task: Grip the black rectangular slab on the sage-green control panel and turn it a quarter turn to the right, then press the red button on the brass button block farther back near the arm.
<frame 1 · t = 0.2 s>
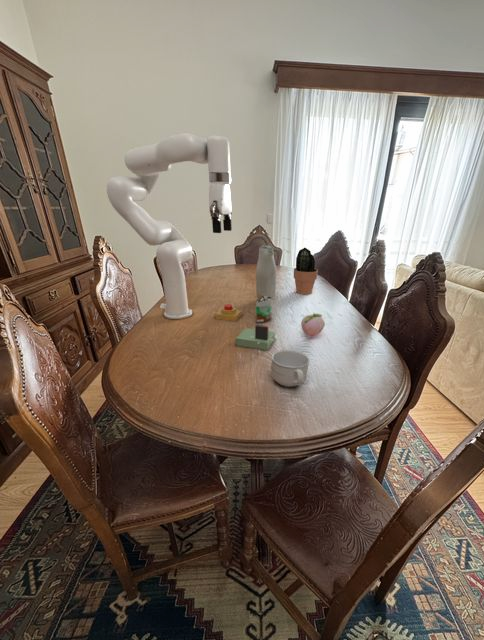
hand: (222, 231, 109), 37 cm above the table, tool pointing down, fingers open, 9 cm apart
decorative fruit: (310, 336, 113), on the table
black rectangular slab: (261, 332, 102), point 6 cm above the table, hinge at 0.0°
food container: (265, 320, 128), on the table
button: (228, 307, 129), point 4 cm above the table, slide at 0.1 cm
button block: (228, 316, 131), on the table
potted plant: (303, 292, 167), on the table
teacup: (289, 384, 84), on the table
glass bottle: (265, 300, 153), on the table
panel: (255, 342, 108), on the table
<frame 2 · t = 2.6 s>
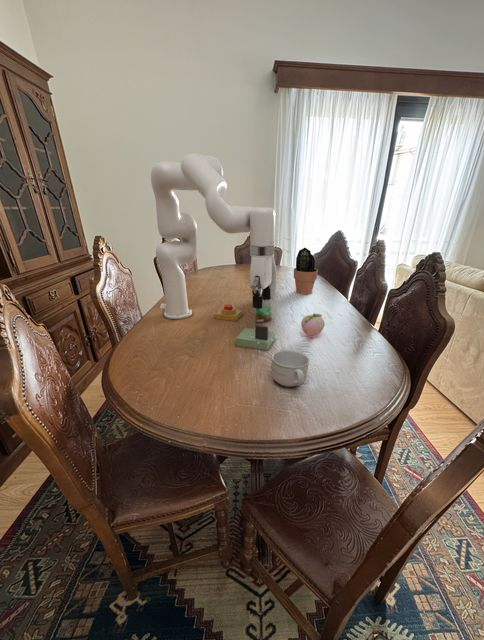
hand: (261, 303, 98), 16 cm above the table, tool pointing down, fingers open, 9 cm apart
nothing on the table moved.
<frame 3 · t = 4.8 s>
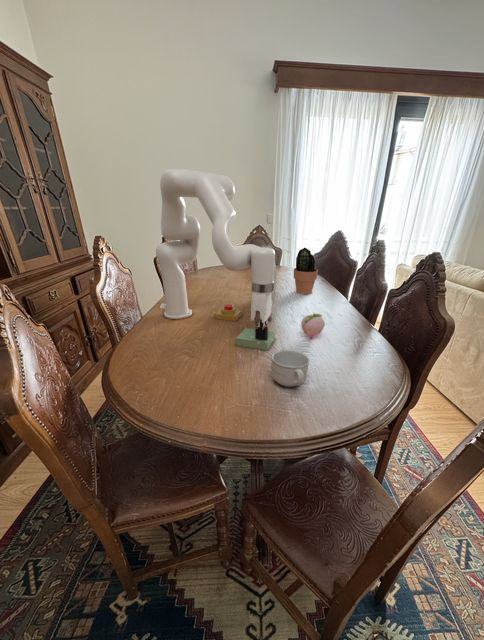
hand: (261, 337, 103), 4 cm above the table, tool pointing down, fingers closed
black rectangular slab: (261, 332, 102), point 6 cm above the table, hinge at 0.0°, touching gripper
everything else where it was.
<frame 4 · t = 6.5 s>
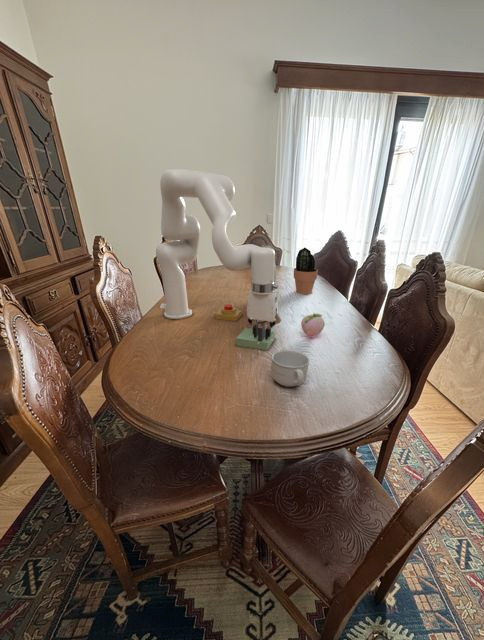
hand: (261, 336, 103), 4 cm above the table, tool pointing down, fingers open, 3 cm apart
black rectangular slab: (261, 332, 102), point 6 cm above the table, hinge at -90.0°
everything else where it was.
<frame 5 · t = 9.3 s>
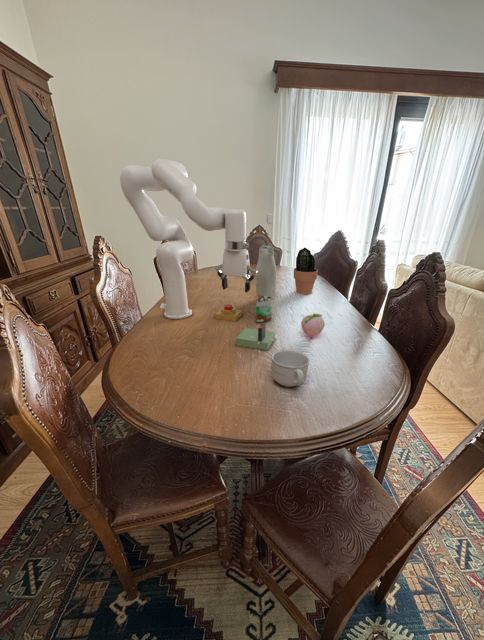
hand: (236, 290, 115), 15 cm above the table, tool pointing down, fingers open, 9 cm apart
nothing on the table moved.
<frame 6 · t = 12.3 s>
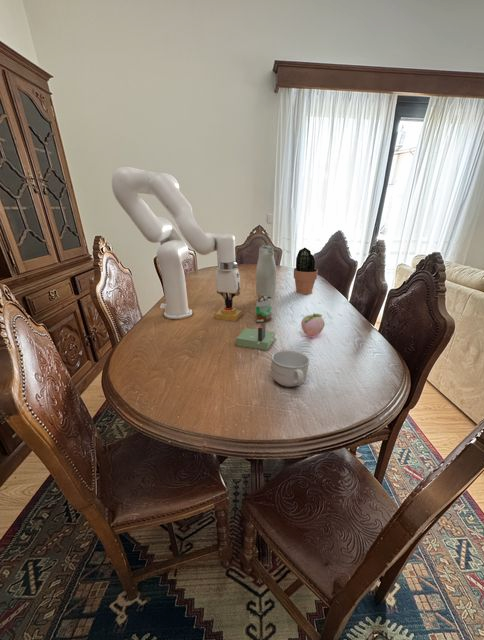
hand: (229, 307, 128), 5 cm above the table, tool pointing down, fingers closed
button: (228, 309, 129), point 4 cm above the table, slide at -0.7 cm, touching gripper
everything else where it was.
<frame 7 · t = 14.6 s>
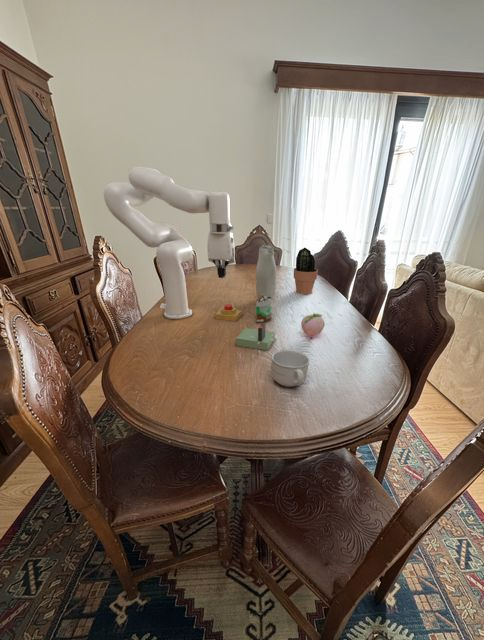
hand: (221, 277, 117), 19 cm above the table, tool pointing down, fingers closed
button: (228, 307, 129), point 4 cm above the table, slide at 0.1 cm
everything else where it was.
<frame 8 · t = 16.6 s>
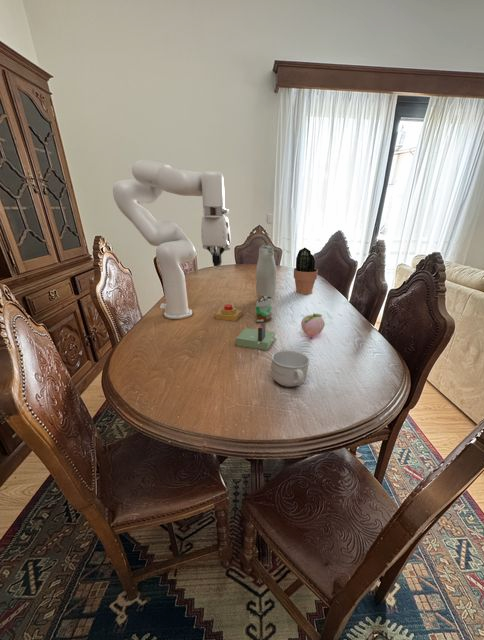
hand: (217, 265, 109), 25 cm above the table, tool pointing down, fingers closed
nothing on the table moved.
at the end: black rectangular slab at -90° (first picture: +0°); button pushed in 1.1 cm at the most during the clip, back to where it started at the end; button slide at 0.1 cm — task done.
